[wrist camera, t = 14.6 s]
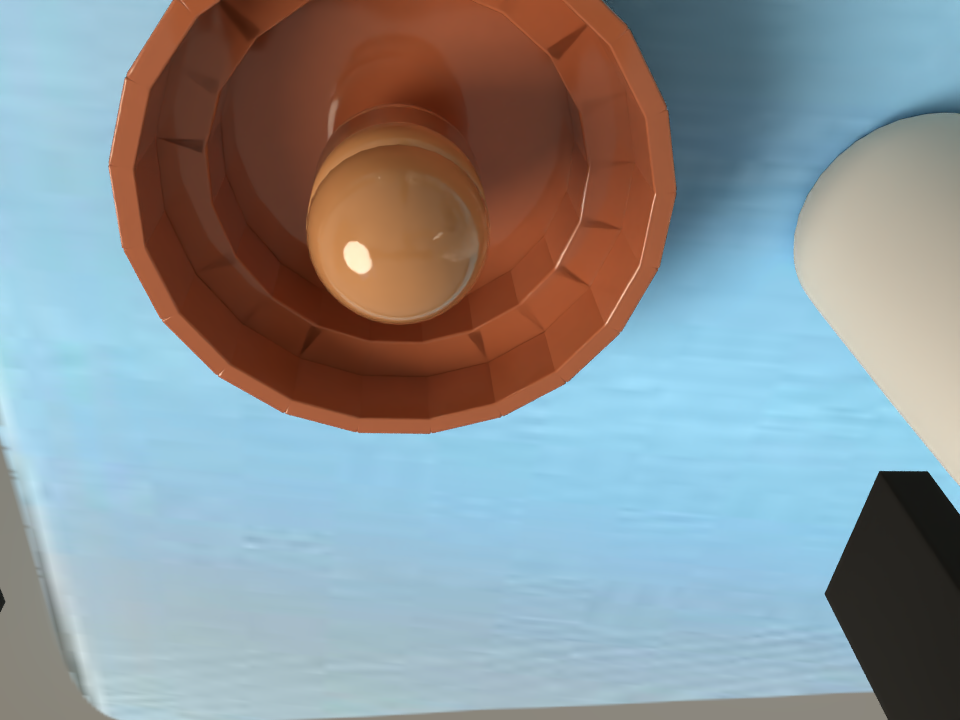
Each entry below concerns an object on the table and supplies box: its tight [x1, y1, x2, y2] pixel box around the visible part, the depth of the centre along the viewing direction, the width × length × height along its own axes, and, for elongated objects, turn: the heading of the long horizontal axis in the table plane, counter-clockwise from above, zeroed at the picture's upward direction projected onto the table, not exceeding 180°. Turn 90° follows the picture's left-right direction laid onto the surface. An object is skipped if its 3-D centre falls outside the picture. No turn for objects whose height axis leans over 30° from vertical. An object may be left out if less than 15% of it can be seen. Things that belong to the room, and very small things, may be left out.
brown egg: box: [306, 103, 490, 325], centre depth 23 cm, size 5×5×8 cm
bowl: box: [108, 0, 677, 434], centre depth 24 cm, size 14×14×5 cm
